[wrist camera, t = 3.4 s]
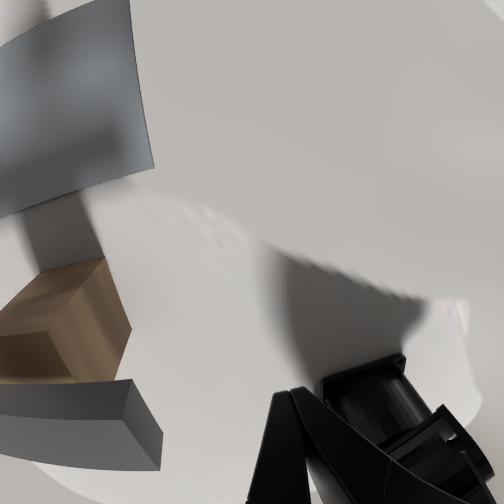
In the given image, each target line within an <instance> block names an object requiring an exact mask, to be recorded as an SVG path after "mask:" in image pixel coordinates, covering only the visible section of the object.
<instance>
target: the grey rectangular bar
mask: <svg viewBox="0 0 504 504" xmlns="http://www.w3.org/2000/svg"><path fill="white" fill-rule="evenodd" d="M162 442H163V432H162V430H161V429H160V427H159V425H158V424H157V422H156V421H155V419H154V417H153V416H152V414H151V412H150V410H149V409H148V407H147V405H146V403H145V402H144V400H143V398H142V396H141V395H140V393H139V391H138V389H137V387H136V385H135V384H134V382H133V380H132V379H127V380H116V381H103V382H88V383H66V384H1V383H0V454H3V455H8V456H12V457H16V458H21V459H25V460H30V461H35V462H41V463H47V464H53V465H60V466H67V467H76V468H86V469H98V470H115V471H160V466H161V454H162Z"/></svg>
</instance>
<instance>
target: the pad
mask: <svg viewBox="0 0 504 504" xmlns="http://www.w3.org/2000/svg"><path fill="white" fill-rule="evenodd" d="M153 168H154V162H153V157H152V153H151V147H150V142H149V137H148V132H147V127H146V121H145V116H144V110H143V104H142V98H141V91H140V85H139V78H138V72H137V64H136V58H135V50H134V41H133V33H132V23H131V13H130V3H129V0H95V1H92V2H89V3H87V4H84V5H82V6H80V7H77V8H75V9H72V10H70V11H68V12H66V13H63V14H61V15H59V16H57V17H55V18H53V19H51V20H49V21H47V22H45V23H43V24H41V25H39V26H37V27H35V28H33V29H31V30H30V31H28V32H26V33H24V34H23V35H21V36H19V37H17V38H16V39H14V40H12V41H11V42H9V43H8V44H6V45H4V46H3V47H1V48H0V218H2V217H5V216H7V215H10V214H12V213H15V212H17V211H20V210H22V209H25V208H28V207H30V206H33V205H36V204H38V203H41V202H44V201H47V200H50V199H52V198H55V197H58V196H61V195H64V194H67V193H70V192H73V191H76V190H79V189H82V188H86V187H89V186H92V185H95V184H99V183H102V182H105V181H109V180H112V179H116V178H119V177H123V176H126V175H130V174H134V173H138V172H141V171H145V170H149V169H153Z"/></svg>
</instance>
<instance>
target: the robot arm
mask: <svg viewBox="0 0 504 504" xmlns="http://www.w3.org/2000/svg"><path fill="white" fill-rule="evenodd" d="M405 364H406V357H405V356H404V355H403V354H402V353H399V354H396V355H393V356H391V357H388V358H385V359H382V360H379V361H376V362H374V363H371V364H368V365H365V366H361V367H358V368H355V369H352V370H349V371H346V372H342V373H339V374H335V375H332V376H329V377H326V378H324V379H323V380H322V381H321V400H320V399H318V398H317V397H316V396H315V395H314V394H313V393H311V392H310V391H309V390H308V389H307V388H306V387H303V386H302V387H298V388H294V389H291V390H290V391H287V390H285V391H281V392H276V393H274V394H273V396H272V400H271V405H270V409H269V413H268V418H267V422H266V426H265V430H264V435H263V439H262V443H261V447H260V451H259V455H258V459H257V463H256V467H255V470H254V474H253V478H252V482H251V486H250V489H249V493H248V497H247V499H248V500H247V501H246V503H245V504H311V498H310V489H309V481H308V473H307V468H308V470H309V472H310V475H311V477H312V479H313V482H314V484H315V486H316V488H317V491H318V493H319V495H320V498H321V500H322V502H323V504H496V501H495V500H494V498H493V496H492V494H491V493H490V491H489V489H488V487H487V485H486V482H487V481H489V480H490V479H491V478H492V477H493V476H494V475H495V474H494V471H493V469H492V467H491V465H490V463H489V461H488V460H487V458H486V457H485V455H484V454H483V452H482V451H481V449H480V448H479V446H478V445H477V444H476V442H475V441H474V440H473V439H472V437H471V436H470V435H469V434H468V433H467V432H466V430H465V429H464V428H463V427H462V425H461V424H460V423H459V422H458V421H457V419H456V418H455V417H454V416H453V415H452V414H451V412H450V411H449V410H448V409H447V408H446V407H445V405H444V404H442V405H441V406H440V407H438V408H437V409H436V410H437V411H435V412H434V413H432V412H431V410H430V409H429V408H428V406H427V405H426V403H425V402H424V401H423V399H422V398H421V397H420V395H419V394H418V392H417V391H416V390H415V388H414V387H413V386H412V384H411V383H410V382H409V380H408V379H407V378H406V376H405V375H404V369H405ZM328 383H329V384H328ZM450 437H451V438H452V440H448V439H449V438H450ZM446 440H447V441H446ZM445 441H446V442H445Z"/></svg>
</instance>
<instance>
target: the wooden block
mask: <svg viewBox="0 0 504 504" xmlns="http://www.w3.org/2000/svg"><path fill="white" fill-rule="evenodd" d="M131 330H132V328H131V326H130V324H129V321H128V319H127V316H126V314H125V311H124V309H123V306H122V303H121V301H120V298H119V295H118V293H117V290H116V287H115V284H114V282H113V279H112V276H111V273H110V270H109V267H108V264H107V261H106V258H105V257H103V258H99V259H95V260H90V261H86V262H82V263H78V264H73V265H69V266H65V267H61V268H57V269H53V270H48V271H44V272H41V273H40V274H39V275H37V276H36V277H35V278H34V279H33V280H32V281H31V282H30V283H29V284H28V285H27V286H26V287H24V288H23V289H22V290H21V291H20V292H19V293H18V294H17V295H16V296H15V297H14V298H13V299H12V300H11V301H10V302H9V303H8V304H7V305H6V306H5V307H4V308H3V309H2V310H1V311H0V383H1V384H66V383H88V382H103V381H114V379H115V376H116V373H117V370H118V367H119V364H120V361H121V359H122V356H123V353H124V350H125V347H126V344H127V341H128V339H129V336H130V333H131Z"/></svg>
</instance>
